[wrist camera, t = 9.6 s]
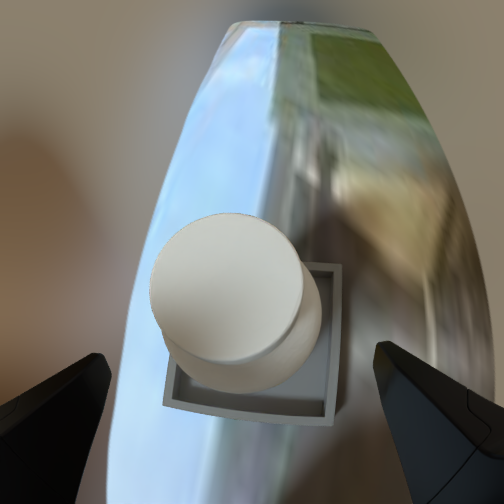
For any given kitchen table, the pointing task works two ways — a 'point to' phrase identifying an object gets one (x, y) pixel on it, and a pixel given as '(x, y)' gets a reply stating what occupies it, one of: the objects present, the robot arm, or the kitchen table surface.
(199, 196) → the kitchen table surface
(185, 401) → the tray
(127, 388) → the kitchen table surface
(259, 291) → the supplement bottle
